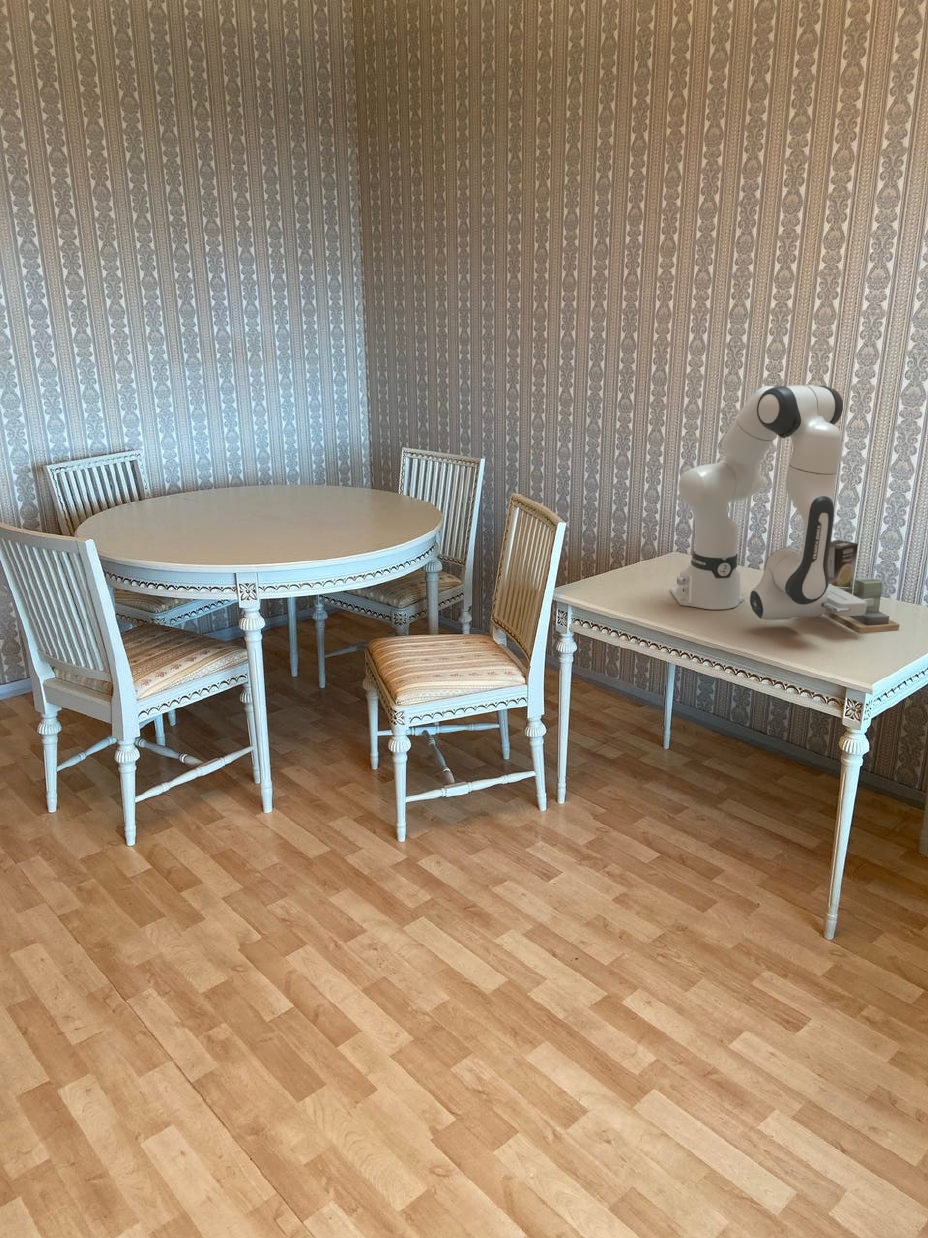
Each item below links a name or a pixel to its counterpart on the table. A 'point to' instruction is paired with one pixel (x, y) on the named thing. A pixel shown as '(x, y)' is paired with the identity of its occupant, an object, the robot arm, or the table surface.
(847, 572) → the coffee box
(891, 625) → the pine board
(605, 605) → the table surface
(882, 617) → the block
